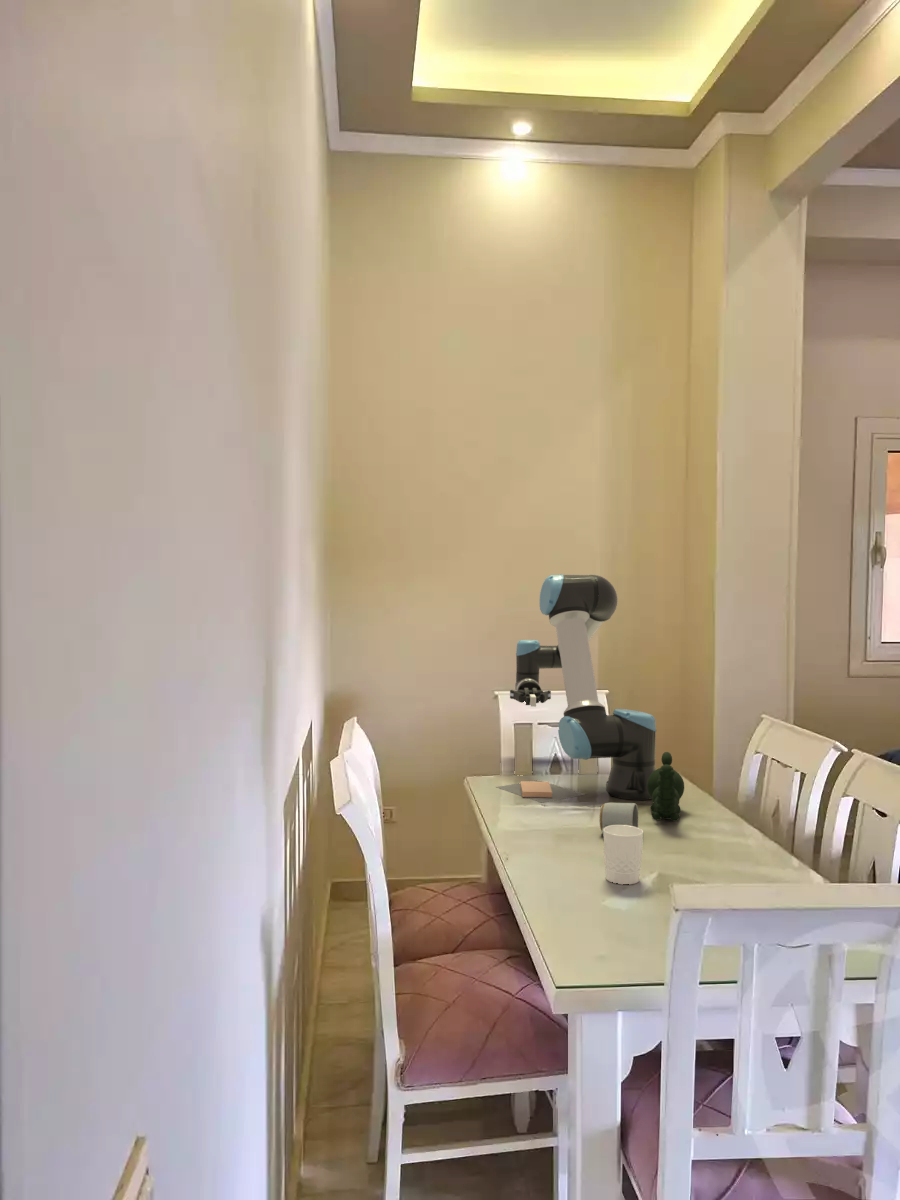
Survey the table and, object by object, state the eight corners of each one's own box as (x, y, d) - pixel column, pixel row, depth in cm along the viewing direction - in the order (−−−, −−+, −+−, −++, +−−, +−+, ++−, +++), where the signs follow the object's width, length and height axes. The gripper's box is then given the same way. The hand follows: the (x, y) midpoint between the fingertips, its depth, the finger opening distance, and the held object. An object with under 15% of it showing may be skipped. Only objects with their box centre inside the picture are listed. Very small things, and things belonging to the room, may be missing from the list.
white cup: (614, 870, 186) (615, 822, 186) (649, 878, 181) (650, 829, 181) (595, 879, 180) (596, 830, 180) (630, 889, 175) (631, 838, 175)
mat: (586, 797, 246) (586, 794, 246) (541, 805, 237) (541, 802, 237) (539, 782, 262) (539, 780, 262) (495, 789, 253) (495, 787, 253)
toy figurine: (685, 836, 216) (682, 801, 241) (687, 760, 214) (684, 732, 238) (645, 833, 218) (647, 798, 243) (647, 757, 216) (648, 730, 240)
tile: (520, 781, 254) (522, 791, 242) (548, 781, 253) (552, 792, 241) (520, 786, 254) (522, 797, 242) (548, 787, 254) (552, 798, 242)
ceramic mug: (604, 828, 217) (605, 796, 216) (638, 831, 214) (639, 800, 213) (595, 841, 207) (595, 808, 207) (630, 845, 204) (631, 812, 204)
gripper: (549, 703, 285) (555, 714, 261) (508, 703, 285) (511, 714, 262) (549, 680, 285) (556, 689, 261) (508, 679, 285) (511, 688, 261)
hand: (533, 701), depth 261 cm, fingers closed
